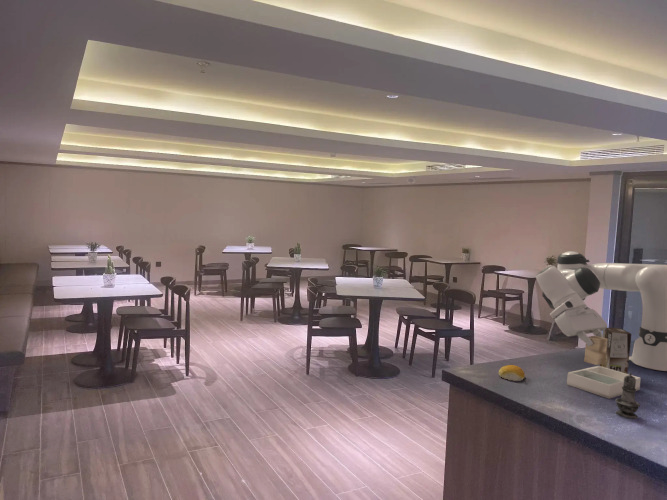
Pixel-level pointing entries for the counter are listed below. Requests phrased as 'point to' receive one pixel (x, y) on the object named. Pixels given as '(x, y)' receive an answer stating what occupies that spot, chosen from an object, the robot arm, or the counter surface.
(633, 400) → the dark grey upright piece
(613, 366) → the coffee box
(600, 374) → the caddy
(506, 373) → the bread roll
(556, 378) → the counter surface
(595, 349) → the maple block
